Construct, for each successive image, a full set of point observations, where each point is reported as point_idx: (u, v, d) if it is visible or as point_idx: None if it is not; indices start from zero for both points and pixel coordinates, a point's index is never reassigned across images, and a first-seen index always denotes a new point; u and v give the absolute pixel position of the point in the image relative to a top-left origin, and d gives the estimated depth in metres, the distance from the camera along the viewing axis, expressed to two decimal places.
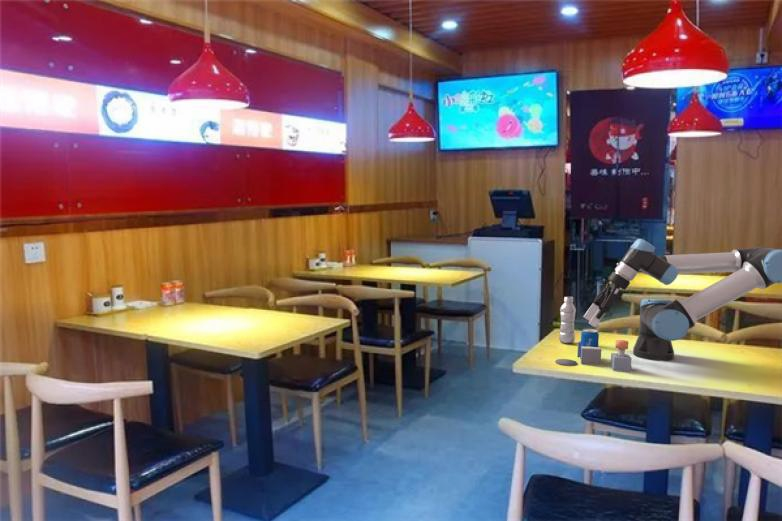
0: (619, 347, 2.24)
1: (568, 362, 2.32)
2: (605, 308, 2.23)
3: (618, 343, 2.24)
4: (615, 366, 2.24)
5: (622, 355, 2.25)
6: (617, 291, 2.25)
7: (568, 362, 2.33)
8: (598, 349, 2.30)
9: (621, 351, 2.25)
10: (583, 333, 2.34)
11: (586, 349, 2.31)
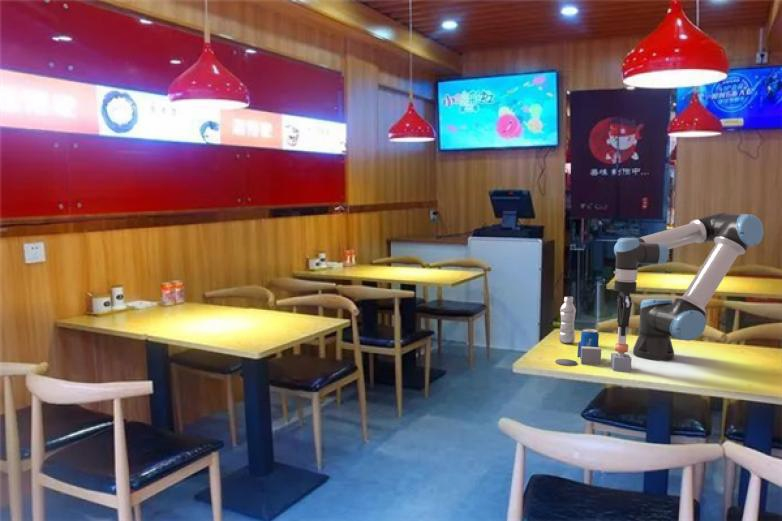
0: (619, 350, 2.24)
1: (568, 362, 2.32)
2: (624, 324, 2.21)
3: (618, 346, 2.24)
4: (615, 366, 2.24)
5: None
6: (628, 305, 2.18)
7: (568, 362, 2.33)
8: (598, 349, 2.30)
9: (620, 354, 2.25)
10: (583, 333, 2.34)
11: (586, 349, 2.31)
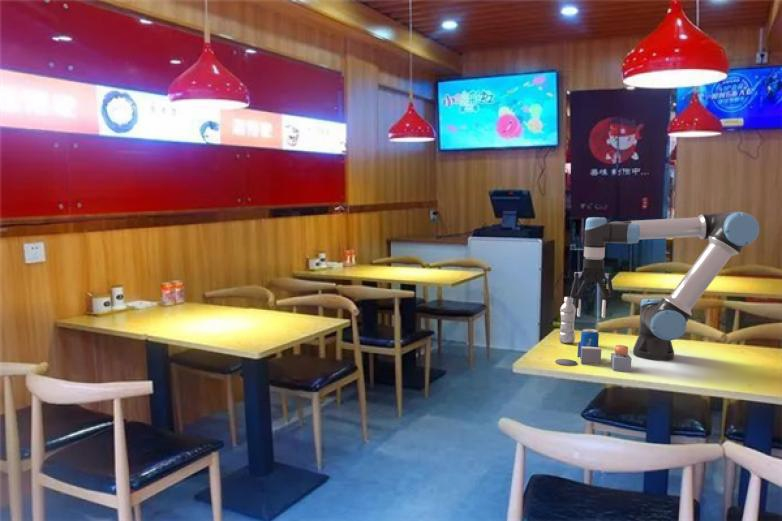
0: (619, 352, 2.24)
1: (568, 362, 2.32)
2: (570, 295, 2.35)
3: (618, 348, 2.24)
4: (615, 366, 2.24)
5: None
6: (574, 275, 2.34)
7: (568, 362, 2.33)
8: (598, 349, 2.30)
9: None
10: (583, 333, 2.34)
11: (586, 349, 2.31)
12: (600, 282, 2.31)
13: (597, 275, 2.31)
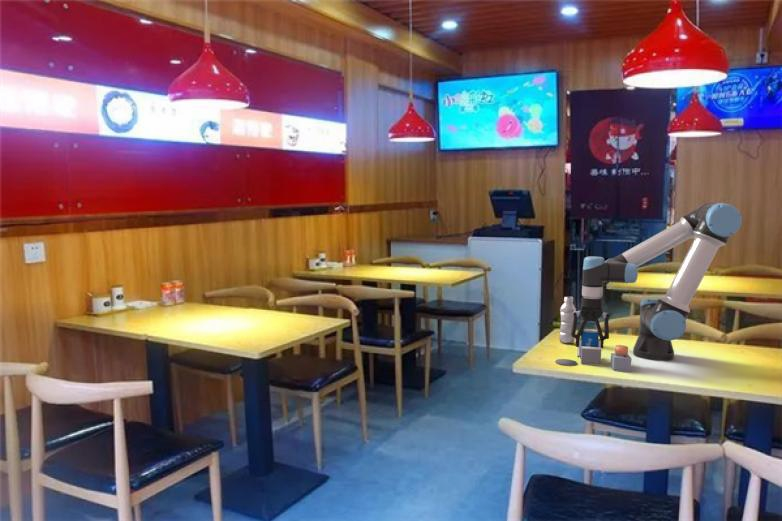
0: (619, 352, 2.24)
1: (568, 362, 2.32)
2: (571, 334, 2.37)
3: (618, 348, 2.24)
4: (615, 366, 2.24)
5: None
6: (573, 314, 2.35)
7: (568, 362, 2.33)
8: (598, 349, 2.30)
9: None
10: (583, 333, 2.34)
11: (586, 349, 2.31)
12: (597, 321, 2.33)
13: (595, 314, 2.33)
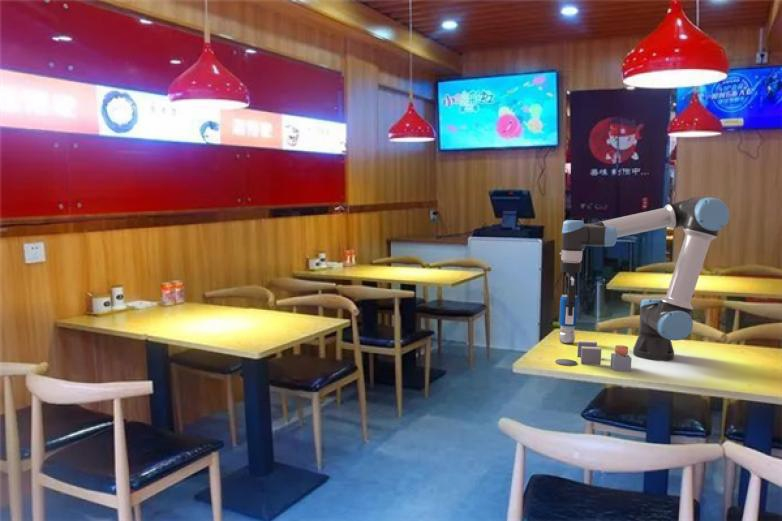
0: (619, 352, 2.24)
1: (568, 362, 2.32)
2: (570, 304, 2.24)
3: (618, 348, 2.24)
4: (615, 366, 2.24)
5: None
6: (573, 282, 2.23)
7: (568, 362, 2.33)
8: (598, 349, 2.30)
9: None
10: None
11: (586, 349, 2.31)
12: None
13: None
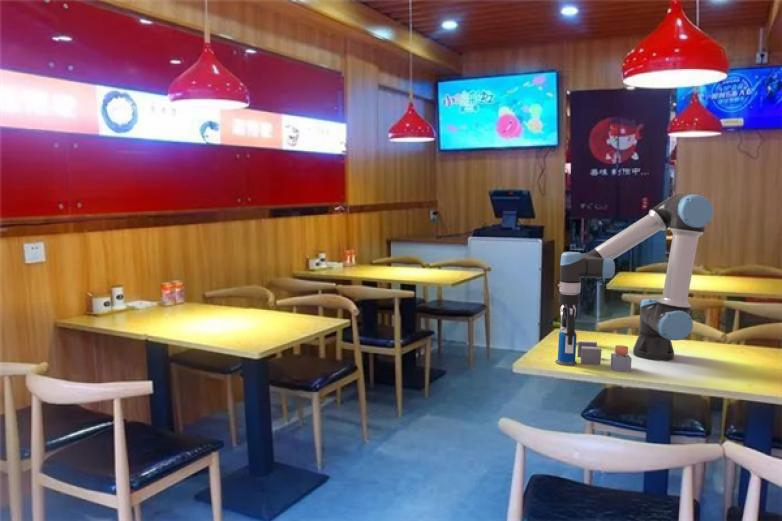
0: (619, 352, 2.24)
1: None
2: (570, 333, 2.22)
3: (618, 348, 2.24)
4: (615, 366, 2.24)
5: None
6: (572, 311, 2.24)
7: None
8: (598, 349, 2.30)
9: None
10: None
11: (586, 349, 2.31)
12: None
13: (573, 309, 2.32)
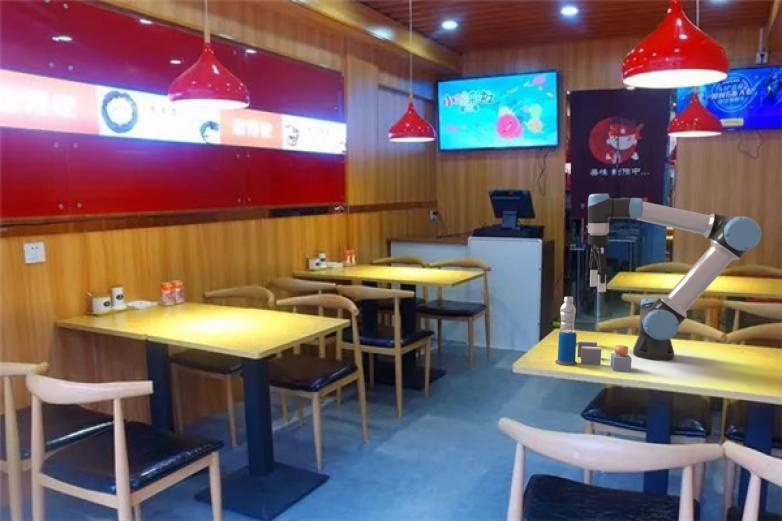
0: (619, 352, 2.24)
1: None
2: (603, 271, 2.26)
3: (618, 348, 2.24)
4: (615, 366, 2.24)
5: None
6: (603, 250, 2.28)
7: None
8: (598, 349, 2.30)
9: None
10: (572, 335, 2.29)
11: (586, 349, 2.31)
12: None
13: None
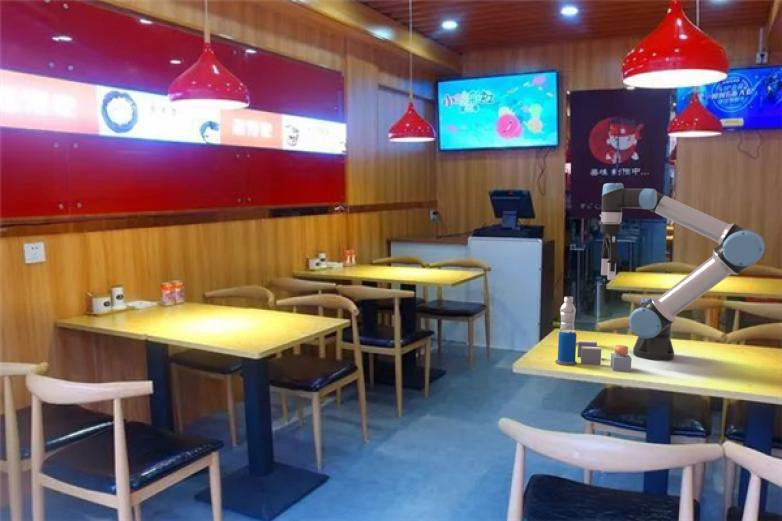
0: (619, 352, 2.24)
1: None
2: (613, 259, 2.29)
3: (618, 348, 2.24)
4: (615, 366, 2.24)
5: None
6: (614, 239, 2.31)
7: None
8: (598, 349, 2.30)
9: None
10: (572, 335, 2.29)
11: (586, 349, 2.31)
12: None
13: None
